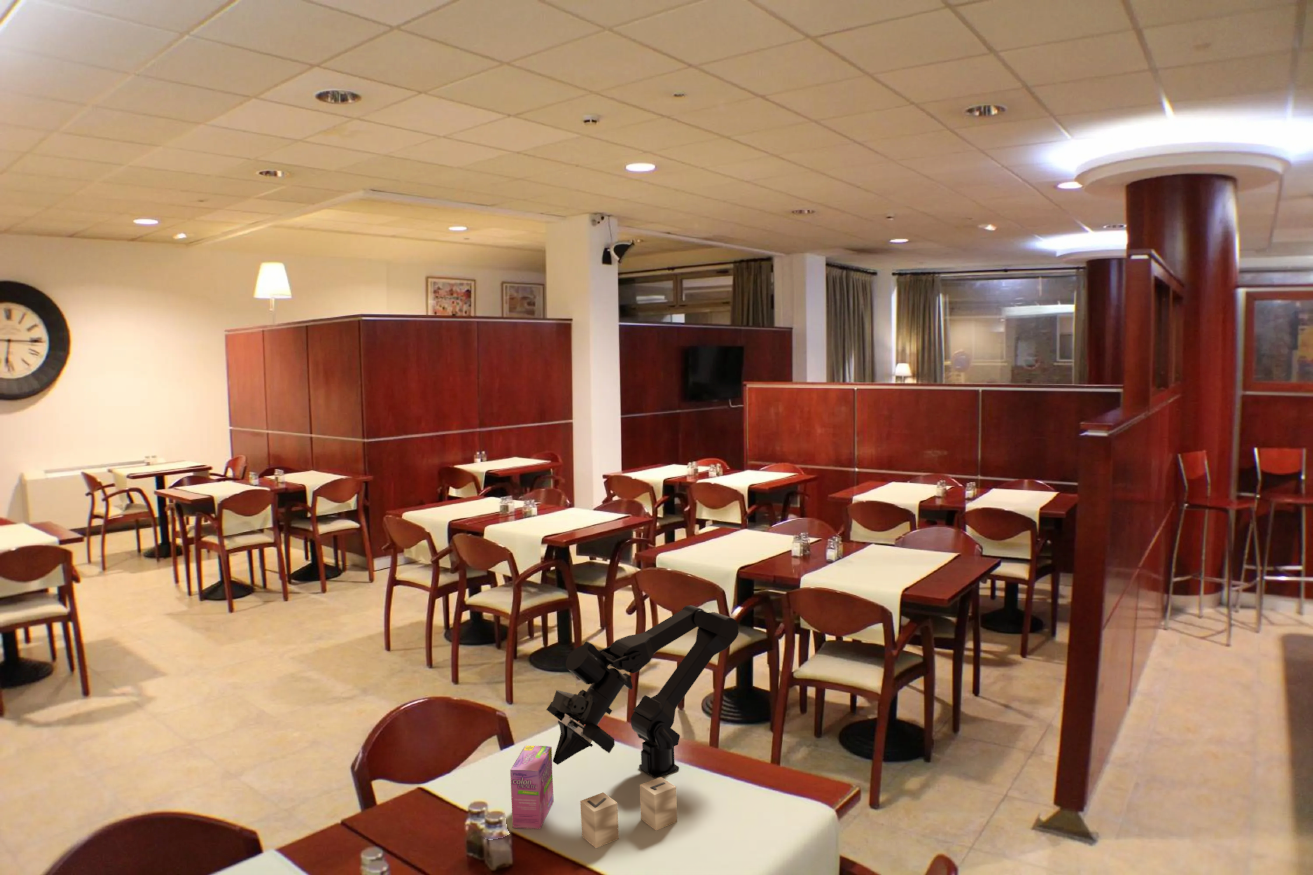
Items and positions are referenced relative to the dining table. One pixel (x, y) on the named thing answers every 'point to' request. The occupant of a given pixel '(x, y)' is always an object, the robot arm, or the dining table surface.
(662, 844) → the dining table surface
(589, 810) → the block seven
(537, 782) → the box
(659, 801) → the block one
